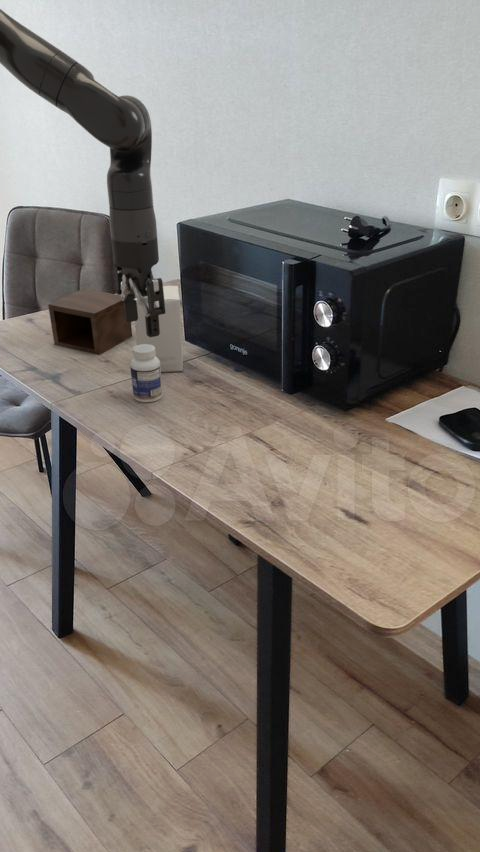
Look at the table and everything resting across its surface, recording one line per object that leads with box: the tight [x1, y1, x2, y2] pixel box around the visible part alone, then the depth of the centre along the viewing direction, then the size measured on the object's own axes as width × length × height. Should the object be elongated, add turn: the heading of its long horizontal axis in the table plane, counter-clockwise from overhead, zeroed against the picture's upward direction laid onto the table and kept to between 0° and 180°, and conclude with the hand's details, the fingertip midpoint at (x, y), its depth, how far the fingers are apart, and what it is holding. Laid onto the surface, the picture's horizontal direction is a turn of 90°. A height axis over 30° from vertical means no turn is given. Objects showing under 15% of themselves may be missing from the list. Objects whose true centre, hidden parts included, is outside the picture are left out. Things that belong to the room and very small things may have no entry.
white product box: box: [134, 285, 184, 373], centre depth 141 cm, size 9×9×15 cm
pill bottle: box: [129, 344, 163, 403], centre depth 129 cm, size 5×5×10 cm
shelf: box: [47, 288, 133, 355], centre depth 152 cm, size 12×12×9 cm
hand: (142, 328), depth 124 cm, fingers open, 8 cm apart
